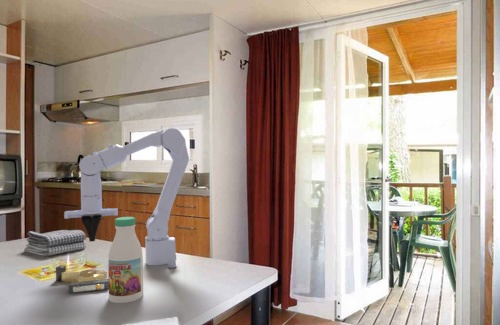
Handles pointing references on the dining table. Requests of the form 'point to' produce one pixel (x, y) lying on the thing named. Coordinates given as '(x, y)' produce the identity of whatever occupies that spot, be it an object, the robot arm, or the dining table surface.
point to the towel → (55, 242)
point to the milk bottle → (125, 263)
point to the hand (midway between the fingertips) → (92, 240)
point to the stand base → (88, 286)
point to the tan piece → (79, 275)
